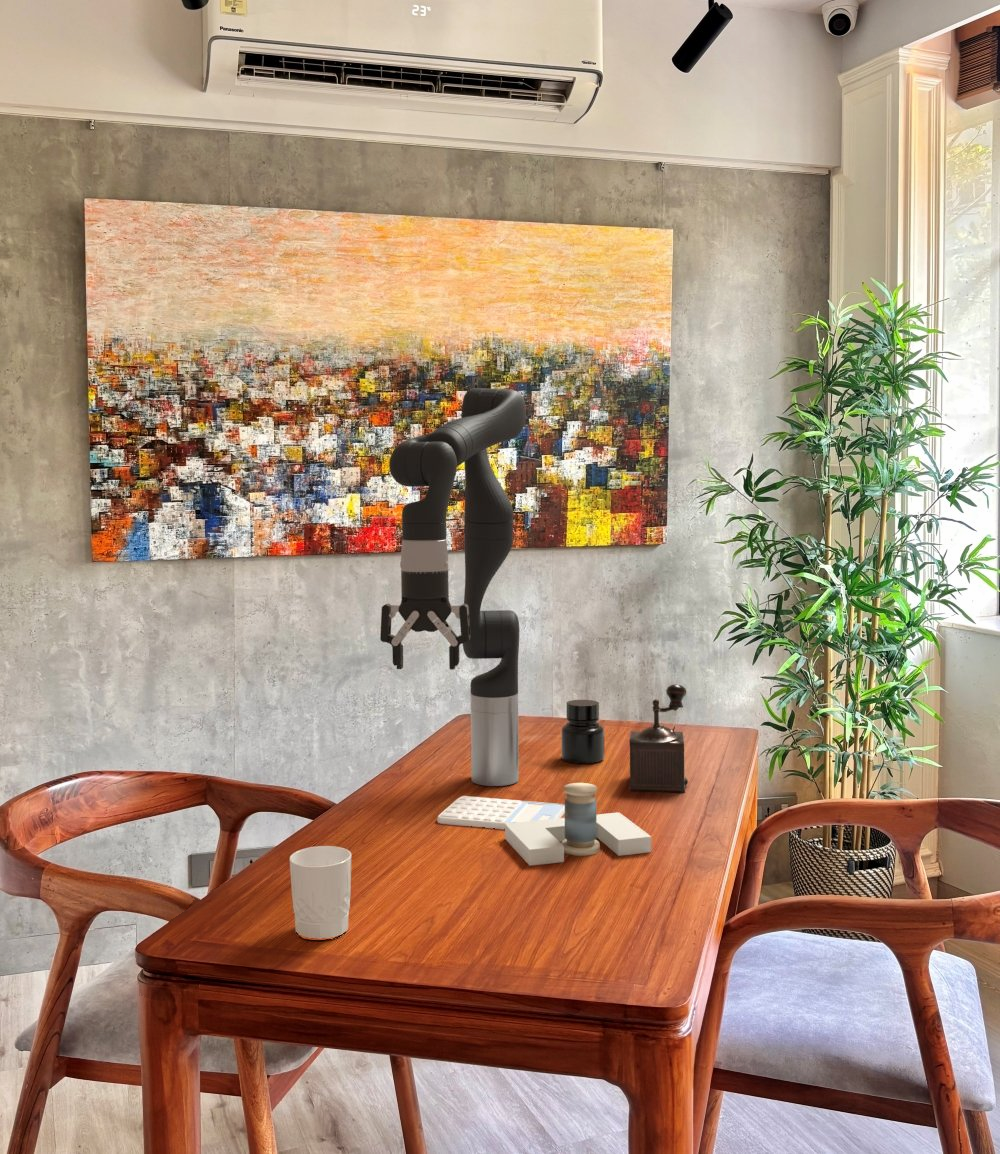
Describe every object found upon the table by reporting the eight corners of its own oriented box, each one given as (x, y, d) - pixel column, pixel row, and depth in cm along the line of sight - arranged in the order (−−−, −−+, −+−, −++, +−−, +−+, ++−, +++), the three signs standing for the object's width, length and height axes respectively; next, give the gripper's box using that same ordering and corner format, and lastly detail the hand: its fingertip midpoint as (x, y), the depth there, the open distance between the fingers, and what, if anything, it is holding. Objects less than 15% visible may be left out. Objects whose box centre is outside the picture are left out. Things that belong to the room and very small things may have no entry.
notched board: (505, 838, 175) (504, 823, 175) (619, 826, 181) (619, 812, 181) (529, 865, 163) (529, 849, 163) (651, 852, 169) (651, 836, 168)
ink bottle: (613, 757, 227) (613, 701, 225) (593, 767, 219) (593, 709, 218) (572, 751, 232) (572, 696, 231) (552, 760, 224) (551, 704, 223)
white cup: (294, 919, 143) (293, 846, 143) (354, 917, 144) (352, 844, 143) (288, 945, 136) (286, 867, 135) (351, 942, 136) (349, 865, 135)
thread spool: (556, 845, 172) (555, 784, 171) (590, 841, 174) (590, 780, 173) (569, 857, 166) (569, 794, 166) (605, 853, 168) (605, 790, 167)
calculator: (460, 803, 197) (460, 793, 196) (567, 812, 191) (567, 802, 191) (435, 826, 184) (435, 815, 184) (549, 836, 178) (548, 825, 178)
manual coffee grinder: (688, 793, 200) (689, 698, 199) (628, 791, 202) (629, 697, 200) (685, 771, 215) (686, 682, 214) (630, 769, 217) (630, 681, 215)
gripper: (472, 566, 175) (472, 665, 176) (385, 566, 176) (387, 664, 177) (466, 570, 167) (467, 673, 169) (375, 569, 169) (377, 672, 170)
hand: (426, 668), depth 173 cm, fingers open, 8 cm apart
